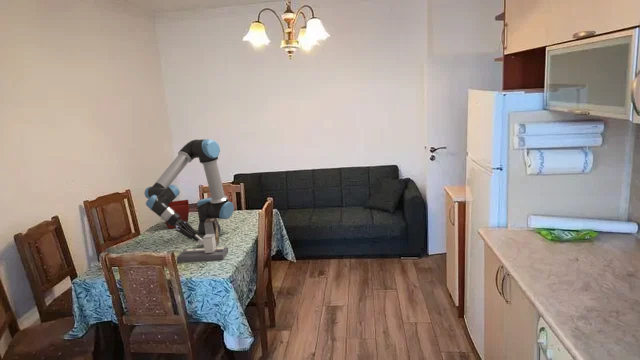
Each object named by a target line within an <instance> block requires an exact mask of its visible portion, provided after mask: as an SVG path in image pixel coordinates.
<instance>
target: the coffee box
mask: <svg viewBox="0 0 640 360" xmlns="http://www.w3.org/2000/svg"><path fill="white" fill-rule="evenodd" d="M217 221H218V218H210V219H206V221H205V222H204V226H205V234H215V240H216V248H218V246H219V244H220V236H219V232H218V225H217Z"/></svg>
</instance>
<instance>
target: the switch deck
mask: <svg viewBox="0 0 640 360" xmlns="http://www.w3.org/2000/svg"><path fill="white" fill-rule="evenodd" d="M228 253H229V247H227V246H225V247H223V246H221V247H216V250H215V251H214V253H205V250H204V247H203V248H188V249H185V248H184V249H183V250H182V252H180V253H179V254H178V255H177V256H176V261H177V263H187V262H188V263H189V262H203V261H222V260H224V259H226V256H227V255H228Z"/></svg>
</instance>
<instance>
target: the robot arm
mask: <svg viewBox="0 0 640 360" xmlns="http://www.w3.org/2000/svg"><path fill="white" fill-rule="evenodd" d="M220 152H221V147H220V144H219V143H218V142H217V141H216V140H213V139H209V138H207V139H206V138H205V139H204V138H202V139H192V140H190V141H188V142H187V143H186V144H184V146H182V148H181V149H179V151H178V152H177V154H178V155H177V156H176V157H175V158H174V160H173V161H172V162H171V163H170V164H169V166H168V167H167V168H166V169H165V170H164V172H163V173H162V174H161V175H160V177H159V178H158V179H157V180H156V181H155V183H154V184H153V185H152V186H147V187H146V188H145V190H144V193H143V194H144V196H145V198H146V199H147V200H146V201H145V206H146V207H148V209H149V210H150V211H152V212H153V213H154V214H156V215H157V216H158V217H160V218H161V220H163V221H164V222H165V221H167V223H168V224H169V225H170V226H173V225H174V226H175V227H176V228H174V229H175V231H177V232H178V233H180V234H182V235H183V236H185V237H186V238H187V239H188V240H193V241H195V242H196V243H197V244H198V245H199V246H201V247H202V246H204V242H203V238H202V237H200V236H199V235H203V236H205V235H206V234H205V226H204V222H205V221H206V219H210V218H217V225H218V233H219V232H220V231H222V229H221V225H220V224H219V222H218V219H219V220H228V219H230V218H231V217H232V215H233V213H234V210H235V206H234V204H233V202H231V201H229V197H228V196H227V195H226V194H225V191H224V187H223V183H222V179H221V178H222V177H221V175H220V170H219V167H218V162H217V161H218V160H219V156H220ZM194 159H198V160H199V163H200V164H202V165H203V169H204V170H203V171H204V174H205V176H206V181H207V186H208V188H209V193H210V197H207V198H202V199H199V200H198V201H197V202H196V203H197V204H196V206H197V207H196V208H197V213H198V214H197V215H198V220H199V223H198V228H197V231H196V230H195V229H194V227H192V226H191V225H190V224H189V221H188V222H187V221H186V220H185V221H183V220H181V219H180V215H179V214H177V213H176V212H175V211H174V210H173V209H172V208H170V207H169V206H168V204H169V203H171V202H172V201H175V199H176V198H177V197H179V195H180V189H179V188H178V186H176V185H174V184H173V182H174V181H175V180H176V178H177V177H179V175H180V173H181V172H182V171H183V169H185V168H186V166H187V165H188V164H189V163H191V162H193V160H194Z"/></svg>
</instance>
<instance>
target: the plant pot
mask: <svg viewBox="0 0 640 360" xmlns="http://www.w3.org/2000/svg"><path fill="white" fill-rule="evenodd" d="M168 206H169V207H170V208H172V209H173V210H174V211H175V212H176V213H177V214H179V215H180V219H181V220H183V221H185V220H186V221H187V222H188V223H189V215H190V202H189V199H182V200H173V201H172V202H171V203H169V204H168ZM164 223H165V225H166V227H167V229H169V230H171V229H176V227H175V226H174V225H173V226H170V225H169V224H168V223H167V221H164Z"/></svg>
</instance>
